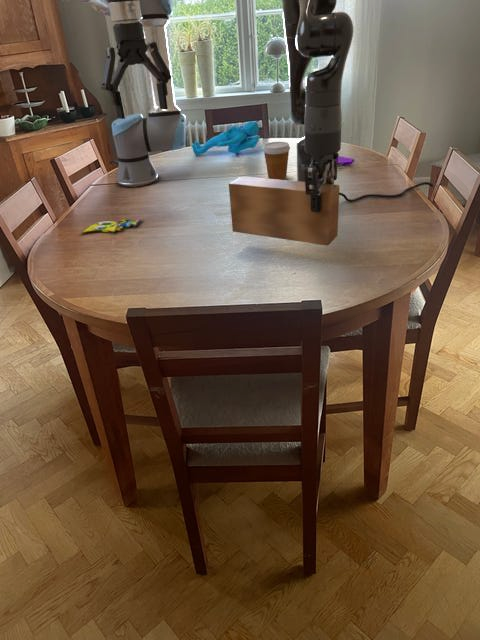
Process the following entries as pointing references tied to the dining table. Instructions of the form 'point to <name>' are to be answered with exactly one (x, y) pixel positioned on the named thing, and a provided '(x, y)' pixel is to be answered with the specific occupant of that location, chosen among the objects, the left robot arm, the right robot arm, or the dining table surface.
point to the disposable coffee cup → (276, 159)
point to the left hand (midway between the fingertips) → (143, 113)
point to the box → (283, 210)
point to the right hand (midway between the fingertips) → (321, 206)
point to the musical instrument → (344, 161)
